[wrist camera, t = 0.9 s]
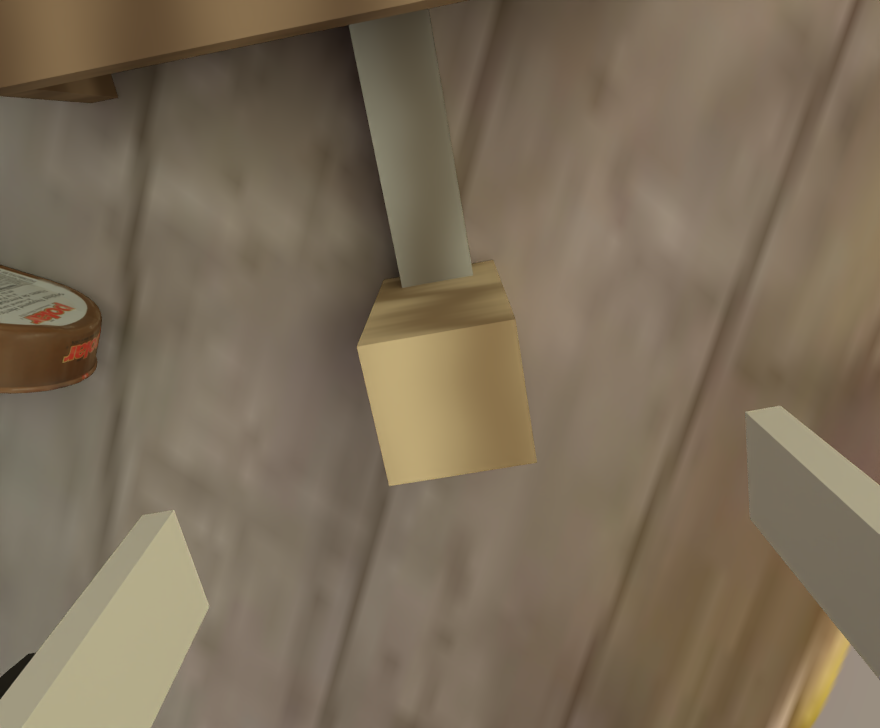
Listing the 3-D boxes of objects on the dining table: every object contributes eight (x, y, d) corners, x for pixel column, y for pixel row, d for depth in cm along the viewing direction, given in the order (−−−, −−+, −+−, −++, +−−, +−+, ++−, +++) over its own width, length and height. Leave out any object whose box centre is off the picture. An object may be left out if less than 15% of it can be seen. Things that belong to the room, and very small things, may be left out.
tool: (405, 380, 32) (389, 485, 23) (289, -164, 25) (195, -344, 15) (509, 363, 32) (536, 462, 22) (421, -194, 25) (407, -397, 15)
